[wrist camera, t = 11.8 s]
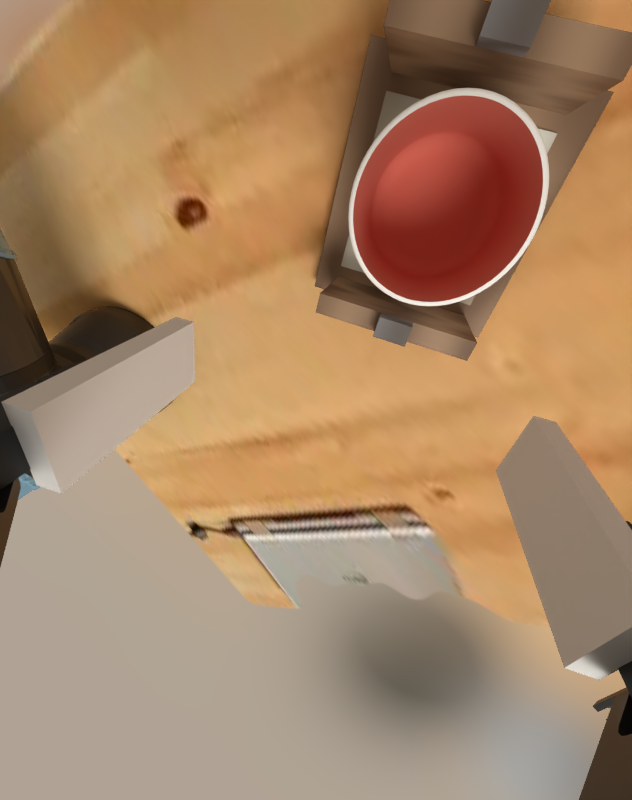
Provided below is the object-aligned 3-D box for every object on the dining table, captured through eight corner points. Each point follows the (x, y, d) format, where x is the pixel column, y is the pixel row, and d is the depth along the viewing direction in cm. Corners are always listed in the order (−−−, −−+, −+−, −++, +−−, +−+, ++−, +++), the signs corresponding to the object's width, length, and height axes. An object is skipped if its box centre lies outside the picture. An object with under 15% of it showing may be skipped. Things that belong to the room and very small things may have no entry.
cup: (346, 237, 28) (317, 250, 20) (420, 98, 23) (422, 35, 14) (441, 299, 29) (452, 337, 20) (536, 178, 23) (604, 162, 15)
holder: (318, 283, 32) (286, 308, 24) (373, 44, 23) (351, -43, 15) (475, 332, 31) (496, 376, 23) (602, 98, 22) (713, 34, 14)
